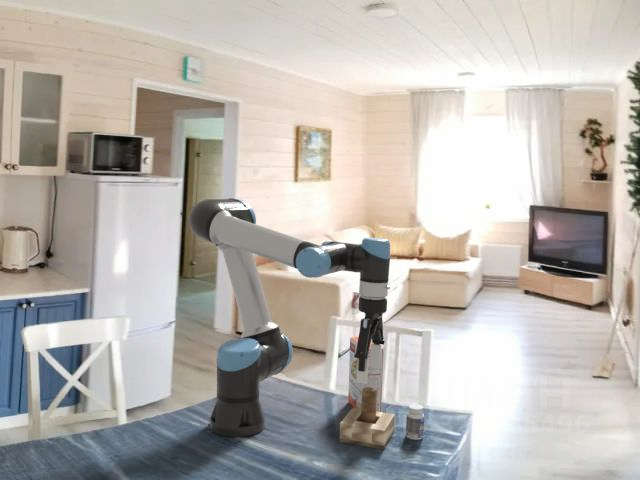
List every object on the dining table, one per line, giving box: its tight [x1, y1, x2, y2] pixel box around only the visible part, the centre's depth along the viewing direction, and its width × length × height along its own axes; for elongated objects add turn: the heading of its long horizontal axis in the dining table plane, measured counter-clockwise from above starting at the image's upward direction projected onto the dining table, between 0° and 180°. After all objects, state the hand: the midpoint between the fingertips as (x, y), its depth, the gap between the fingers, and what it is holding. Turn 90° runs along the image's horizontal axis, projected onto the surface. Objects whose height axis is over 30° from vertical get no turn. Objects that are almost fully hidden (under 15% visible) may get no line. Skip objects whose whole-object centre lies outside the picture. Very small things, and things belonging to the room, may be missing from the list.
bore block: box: [338, 407, 396, 450], centre depth 160 cm, size 12×12×5 cm
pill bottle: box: [405, 403, 425, 441], centre depth 161 cm, size 5×5×8 cm
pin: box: [361, 387, 377, 424], centre depth 160 cm, size 4×4×12 cm
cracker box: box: [347, 336, 385, 412], centre depth 178 cm, size 14×6×21 cm, turn 16°
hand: (368, 374), depth 159 cm, fingers open, 13 cm apart
